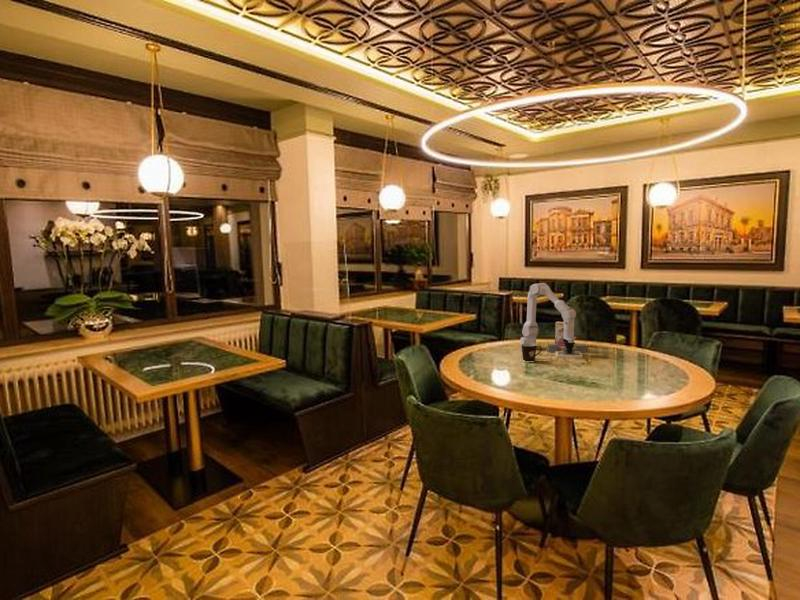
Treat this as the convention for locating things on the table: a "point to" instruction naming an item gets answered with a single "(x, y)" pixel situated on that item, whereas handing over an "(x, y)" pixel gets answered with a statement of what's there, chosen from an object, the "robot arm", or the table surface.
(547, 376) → the table surface
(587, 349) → the fuse board
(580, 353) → the parts tray
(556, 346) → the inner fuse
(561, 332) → the candy bar box
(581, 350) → the outer fuse
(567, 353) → the marked fuse
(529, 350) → the coffee mug
